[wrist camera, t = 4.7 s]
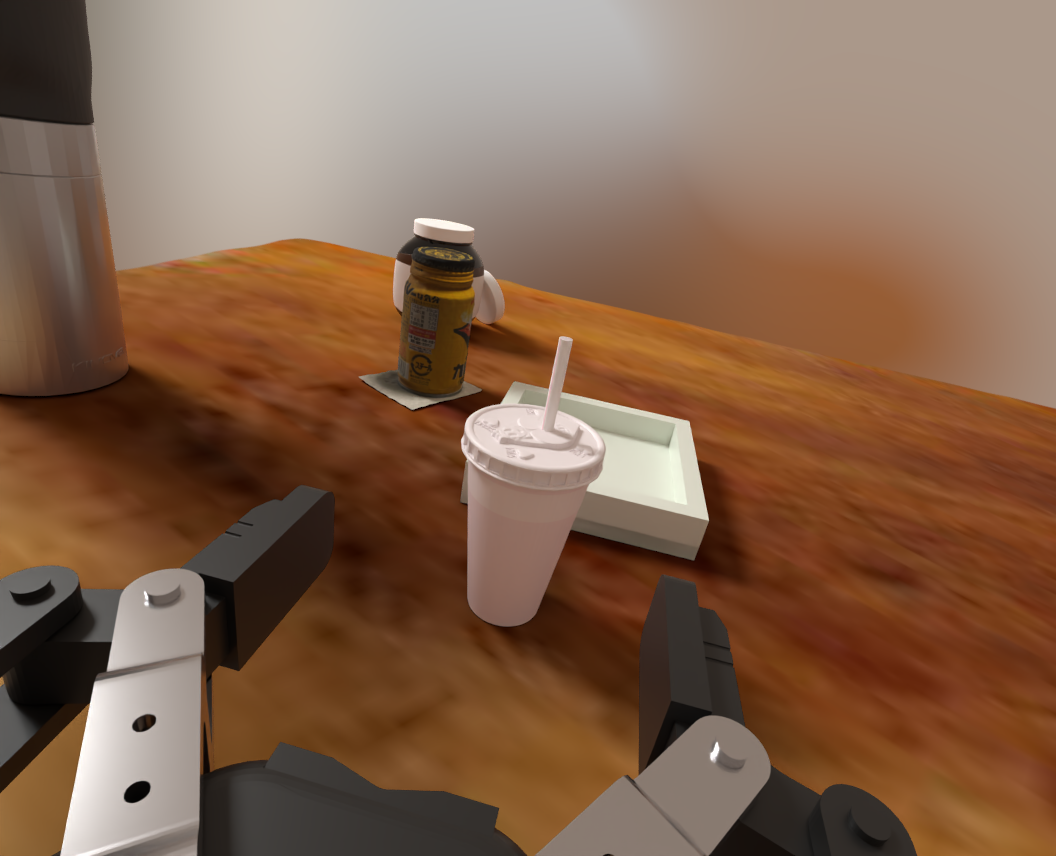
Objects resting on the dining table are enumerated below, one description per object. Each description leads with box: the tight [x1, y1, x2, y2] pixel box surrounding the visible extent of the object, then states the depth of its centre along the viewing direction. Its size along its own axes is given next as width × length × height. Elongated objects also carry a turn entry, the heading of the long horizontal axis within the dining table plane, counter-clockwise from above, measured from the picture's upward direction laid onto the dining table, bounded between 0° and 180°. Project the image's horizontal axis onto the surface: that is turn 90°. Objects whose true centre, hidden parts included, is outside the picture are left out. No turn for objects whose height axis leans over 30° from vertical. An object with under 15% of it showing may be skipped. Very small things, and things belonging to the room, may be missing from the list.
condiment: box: [359, 247, 482, 410], centre depth 49 cm, size 7×8×12 cm
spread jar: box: [393, 218, 505, 324], centre depth 69 cm, size 12×11×12 cm
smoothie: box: [461, 337, 606, 627], centre depth 26 cm, size 6×6×14 cm
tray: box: [460, 381, 709, 560], centre depth 42 cm, size 15×15×3 cm
